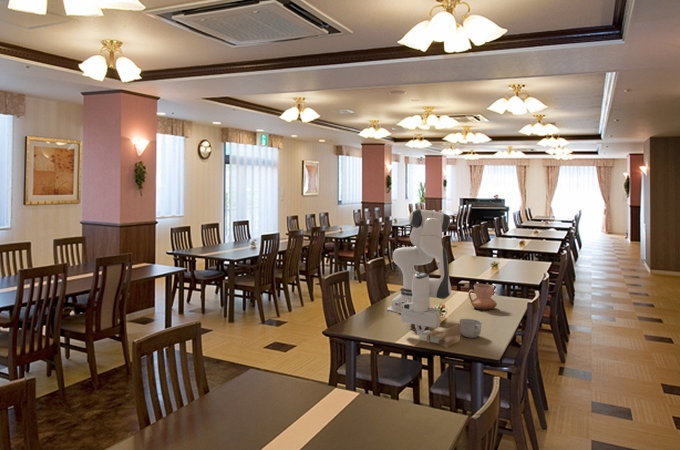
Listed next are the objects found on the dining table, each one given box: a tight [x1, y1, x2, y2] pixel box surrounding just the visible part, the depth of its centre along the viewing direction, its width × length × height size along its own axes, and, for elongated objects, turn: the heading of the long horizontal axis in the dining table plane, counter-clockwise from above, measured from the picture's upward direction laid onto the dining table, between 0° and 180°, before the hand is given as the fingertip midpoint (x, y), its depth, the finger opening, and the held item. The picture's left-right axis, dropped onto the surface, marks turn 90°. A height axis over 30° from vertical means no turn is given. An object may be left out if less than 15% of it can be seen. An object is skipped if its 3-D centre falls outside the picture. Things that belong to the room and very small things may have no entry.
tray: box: [418, 330, 445, 345], centre depth 249 cm, size 14×8×3 cm, turn 53°
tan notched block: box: [426, 323, 461, 348], centre depth 247 cm, size 14×14×8 cm
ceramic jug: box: [467, 284, 499, 311], centre depth 315 cm, size 18×14×14 cm
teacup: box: [459, 318, 483, 339], centre depth 255 cm, size 14×11×8 cm
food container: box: [410, 324, 431, 332], centre depth 269 cm, size 12×6×10 cm, turn 71°
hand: (420, 333), depth 254 cm, fingers closed
